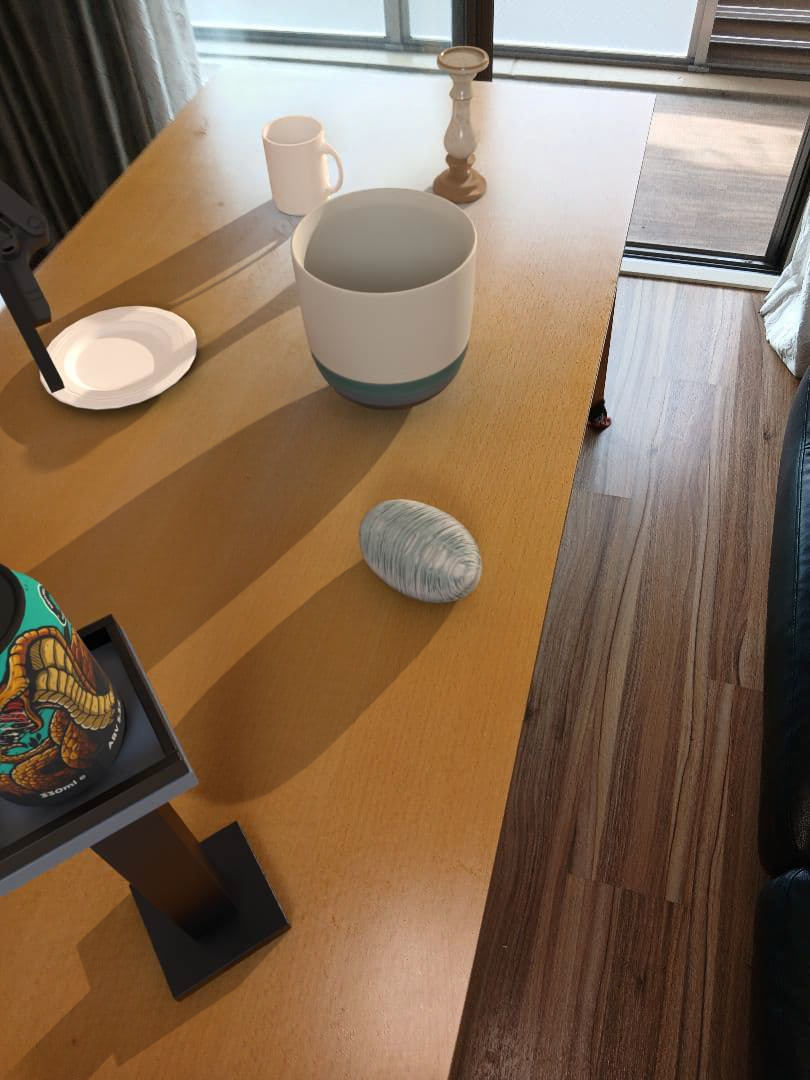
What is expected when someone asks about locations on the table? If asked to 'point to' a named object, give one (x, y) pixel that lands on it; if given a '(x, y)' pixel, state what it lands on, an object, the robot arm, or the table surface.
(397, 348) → the planter
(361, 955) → the table surface
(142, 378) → the plate
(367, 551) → the grey streaked ellipsoid
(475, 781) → the table surface
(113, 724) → the beverage can
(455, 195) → the candle holder
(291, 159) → the mug
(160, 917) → the pad stand
